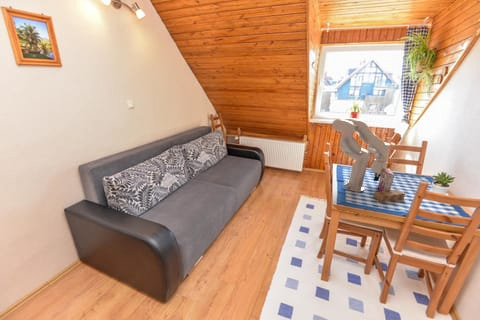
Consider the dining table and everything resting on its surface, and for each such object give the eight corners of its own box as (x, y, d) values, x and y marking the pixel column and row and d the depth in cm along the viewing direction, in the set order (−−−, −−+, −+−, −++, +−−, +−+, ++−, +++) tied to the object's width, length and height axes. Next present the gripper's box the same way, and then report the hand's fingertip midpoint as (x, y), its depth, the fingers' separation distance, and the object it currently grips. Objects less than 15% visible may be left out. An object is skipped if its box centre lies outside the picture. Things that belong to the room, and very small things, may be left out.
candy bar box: (377, 186, 174) (382, 167, 168) (384, 187, 173) (389, 168, 167) (381, 193, 164) (387, 173, 158) (389, 194, 163) (395, 174, 157)
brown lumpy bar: (380, 202, 152) (381, 196, 151) (373, 198, 158) (375, 192, 156) (403, 199, 157) (405, 193, 155) (396, 195, 162) (397, 189, 161)
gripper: (369, 156, 175) (365, 177, 181) (384, 162, 161) (379, 185, 168) (378, 155, 176) (373, 176, 183) (393, 162, 163) (387, 184, 169)
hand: (376, 180), depth 175 cm, fingers closed
